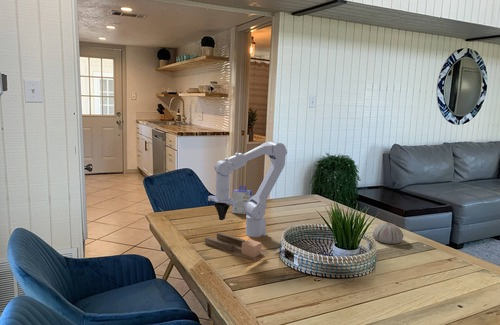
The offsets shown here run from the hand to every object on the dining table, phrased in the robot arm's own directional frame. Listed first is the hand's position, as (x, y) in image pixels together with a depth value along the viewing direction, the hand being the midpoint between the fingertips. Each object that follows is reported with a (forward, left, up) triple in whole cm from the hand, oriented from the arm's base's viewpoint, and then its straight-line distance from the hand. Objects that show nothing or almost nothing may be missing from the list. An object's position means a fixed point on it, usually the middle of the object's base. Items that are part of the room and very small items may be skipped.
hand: (221, 219), depth 167 cm
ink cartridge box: (-38, -17, -10) cm, 43 cm away
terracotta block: (+5, +20, -8) cm, 22 cm away
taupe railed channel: (+5, +11, -9) cm, 15 cm away
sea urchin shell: (-49, +57, -10) cm, 76 cm away
